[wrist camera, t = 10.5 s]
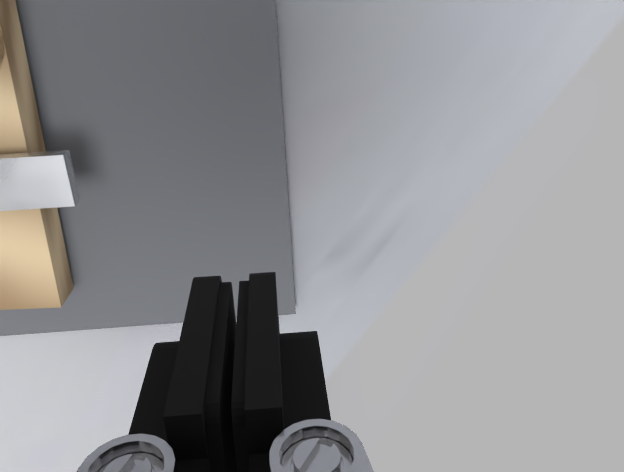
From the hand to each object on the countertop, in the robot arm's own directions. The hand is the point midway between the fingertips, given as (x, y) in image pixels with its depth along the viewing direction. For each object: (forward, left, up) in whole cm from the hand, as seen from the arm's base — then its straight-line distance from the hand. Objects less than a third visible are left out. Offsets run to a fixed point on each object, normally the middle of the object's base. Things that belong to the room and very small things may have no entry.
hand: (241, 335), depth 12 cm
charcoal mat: (+1, -8, -19) cm, 21 cm away
